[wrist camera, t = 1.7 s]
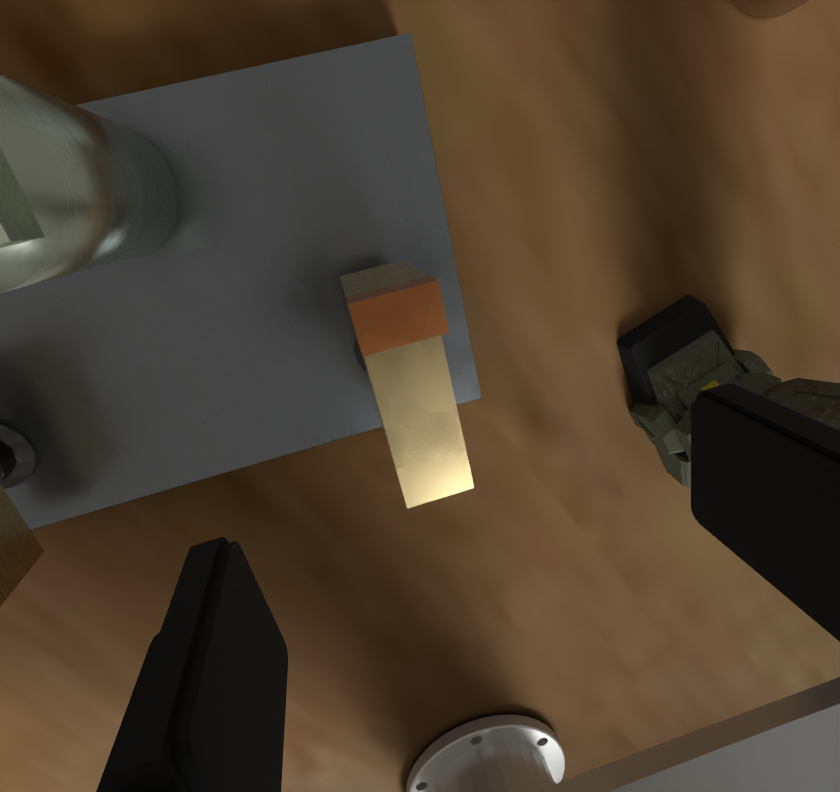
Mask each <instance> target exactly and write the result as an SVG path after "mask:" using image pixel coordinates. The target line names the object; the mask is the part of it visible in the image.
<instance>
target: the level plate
mask: <svg viewBox="0 0 840 792" xmlns="http://www.w3.org/2000/svg"><path fill="white" fill-rule="evenodd" d="M401 260H403V261H405V262H407V263H408V264H410V265H412V266H413V267H415V268H417V269H418V270H420V271H422V272H423V273H425V274H427V275H430V276H432V277H434V278H436V279H437V280H439V285H440V290H441V295H442V299H443V304H444V309H445V314H446V319H447V323H448V328H449V333H446V334H442V335H441V337H442V341H443V346H444V351H445V355H446V360H447V364H448V369H449V374H450V378H451V383H452V387H453V392H454V397H455V401H456V405H458V404H461V403H464V402H468V401H471V400H475V399H478V398H481V393H480V388H479V383H478V378H477V372H476V367H475V362H474V357H473V352H472V347H471V342H470V336H469V331H468V326H467V321H466V316H465V311H464V305H463V300H462V295H461V290H460V285H459V280H458V274H457V269H456V264H455V259H454V254H453V249H452V244H451V238H450V233H449V228H448V223H447V218H446V213H445V207H444V202H443V197H442V192H441V187H440V182H439V176H438V171H437V166H436V161H435V156H434V151H433V146H432V140H431V135H430V130H429V125H428V120H427V115H426V109H425V104H424V99H423V94H422V89H421V84H420V78H419V73H418V68H417V63H416V58H415V53H414V48H413V42H412V37H411V33H407V34H402V35H397V36H393V37H388V38H383V39H379V40H374V41H370V42H365V43H360V44H356V45H351V46H346V47H342V48H337V49H333V50H328V51H323V52H319V53H314V54H309V55H305V56H300V57H296V58H291V59H286V60H282V61H277V62H272V63H268V64H263V65H258V66H254V67H249V68H245V69H240V70H235V71H231V72H226V73H221V74H217V75H212V76H208V77H203V78H198V79H194V80H189V81H184V82H180V83H175V84H170V85H166V86H161V87H157V88H152V89H147V90H143V91H138V92H133V93H129V94H124V95H120V96H115V97H110V98H106V99H101V100H96V101H92V102H87V103H83V104H78V105H73V104H71V103H69V102H66V101H64V100H62V99H59V98H57V97H54V96H52V95H50V94H47V93H45V92H43V91H40V90H38V89H36V88H33V87H31V86H29V85H26V84H24V83H22V82H19V81H17V80H14V79H12V78H10V77H7V76H5V75H3V74H0V442H2V443H3V444H5V445H6V446H8V447H9V448H10V449H11V450H12V452H13V453H14V455H15V458H16V467H15V469H14V471H13V472H12V473H11V474H10V475H9V476H8V477H7V478H6V479H4V480H3V481H2V482H1V483H0V484H1V486H2V487H3V489H4V490H5V492H6V493H7V495H8V496H9V498H10V499H11V501H12V503H13V504H14V506H15V507H16V509H17V510H18V512H19V513H20V515H21V516H22V518H23V519H24V521H25V522H26V524H27V525H28V527H29V529H30V530H31V529H34V528H38V527H41V526H45V525H48V524H52V523H55V522H58V521H62V520H65V519H69V518H72V517H75V516H79V515H82V514H86V513H89V512H92V511H96V510H99V509H103V508H106V507H110V506H113V505H116V504H120V503H123V502H127V501H130V500H133V499H137V498H140V497H144V496H147V495H150V494H154V493H157V492H161V491H164V490H168V489H171V488H174V487H178V486H181V485H185V484H188V483H191V482H195V481H198V480H202V479H205V478H209V477H212V476H215V475H219V474H222V473H226V472H229V471H232V470H236V469H239V468H243V467H246V466H249V465H253V464H256V463H260V462H263V461H267V460H270V459H273V458H277V457H280V456H284V455H287V454H290V453H294V452H297V451H301V450H304V449H307V448H311V447H314V446H318V445H321V444H325V443H328V442H331V441H335V440H338V439H342V438H345V437H348V436H352V435H355V434H359V433H362V432H365V431H369V430H372V429H376V428H379V427H383V426H382V422H381V419H380V415H379V412H378V408H377V405H376V401H375V398H374V394H373V391H372V387H371V384H370V380H369V377H368V373H367V370H366V366H365V363H364V359H363V356H362V352H361V349H360V346H359V343H358V339H357V336H356V332H355V329H354V325H353V322H352V318H351V315H350V311H349V308H348V304H347V301H346V296H345V293H344V289H343V286H342V282H341V279H340V276H343V275H347V274H351V273H355V272H358V271H362V270H366V269H370V268H374V267H378V266H381V265H385V264H389V263H393V262H397V261H401Z"/></svg>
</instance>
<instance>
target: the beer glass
mask: <svg viewBox="0 0 840 792" xmlns="http://www.w3.org/2000/svg"><path fill="white" fill-rule="evenodd" d="M807 1H809V0H732V2H733V3H734V4H735V5H736V6H737V7H738V8H739V9H740V10H741V11H743V12H744V13H746V14H748V15H750V16H753V17H757V18H773V17H778V16H781V15H784V14H786V13H788V12H790V11H792V10H794V9H796V8H798V7H799V6H801V5H803V4H804V3H806V2H807Z"/></svg>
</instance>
